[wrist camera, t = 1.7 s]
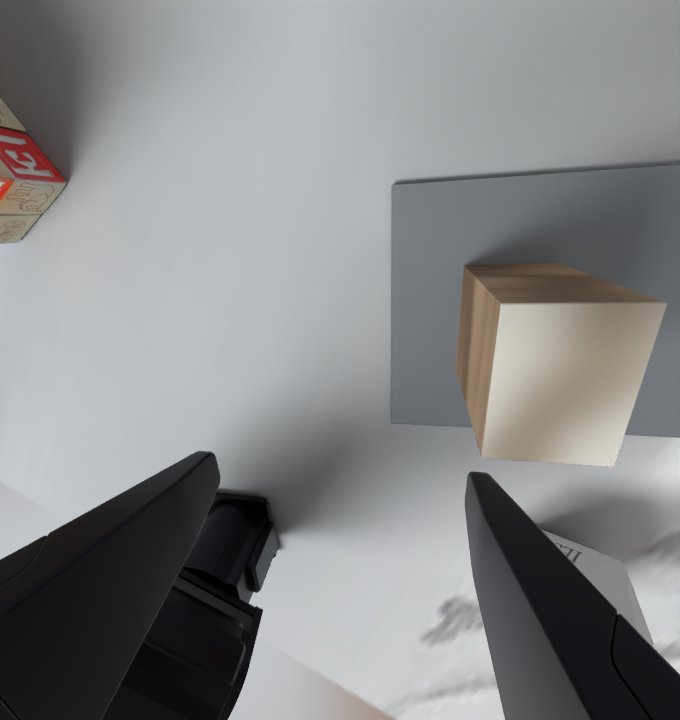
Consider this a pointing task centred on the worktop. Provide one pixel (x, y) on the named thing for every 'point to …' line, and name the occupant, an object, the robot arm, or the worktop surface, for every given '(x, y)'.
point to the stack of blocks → (23, 179)
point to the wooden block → (551, 361)
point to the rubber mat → (522, 246)
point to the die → (606, 580)
